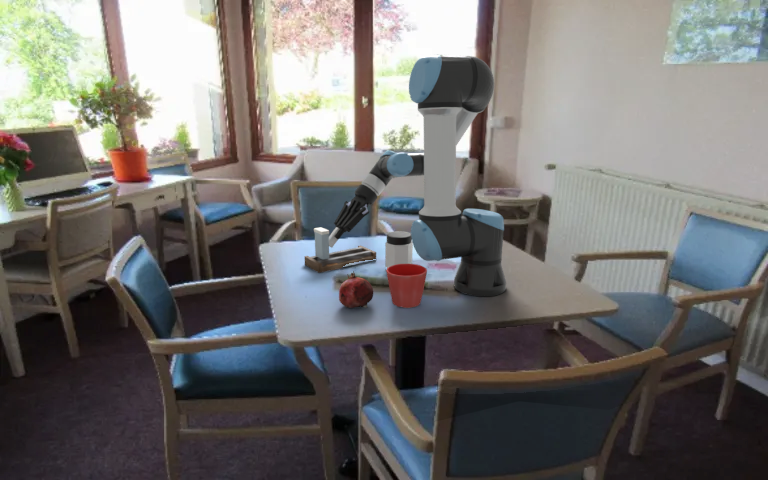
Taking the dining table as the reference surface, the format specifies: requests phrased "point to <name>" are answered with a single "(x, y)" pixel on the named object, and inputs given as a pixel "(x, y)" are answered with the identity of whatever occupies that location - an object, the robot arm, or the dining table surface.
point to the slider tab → (321, 243)
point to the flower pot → (406, 284)
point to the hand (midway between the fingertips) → (328, 245)
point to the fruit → (355, 292)
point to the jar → (398, 248)
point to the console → (340, 259)
